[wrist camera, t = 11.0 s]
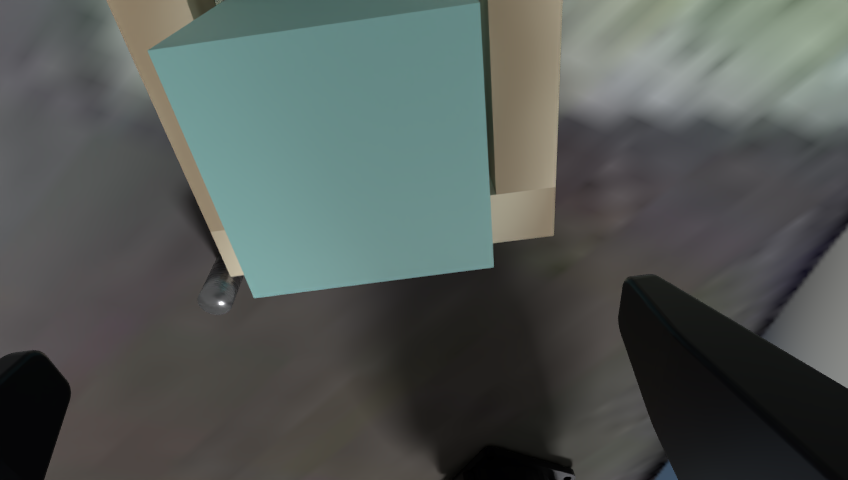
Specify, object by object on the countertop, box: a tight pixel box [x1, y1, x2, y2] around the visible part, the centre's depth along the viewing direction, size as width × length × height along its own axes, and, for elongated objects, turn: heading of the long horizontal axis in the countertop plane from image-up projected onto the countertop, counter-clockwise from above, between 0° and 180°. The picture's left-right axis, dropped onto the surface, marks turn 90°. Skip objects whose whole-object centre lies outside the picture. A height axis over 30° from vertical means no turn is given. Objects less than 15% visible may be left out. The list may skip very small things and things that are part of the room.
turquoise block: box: [147, 0, 494, 298], centre depth 13 cm, size 6×6×7 cm
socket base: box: [107, 0, 563, 315], centre depth 16 cm, size 13×13×2 cm
